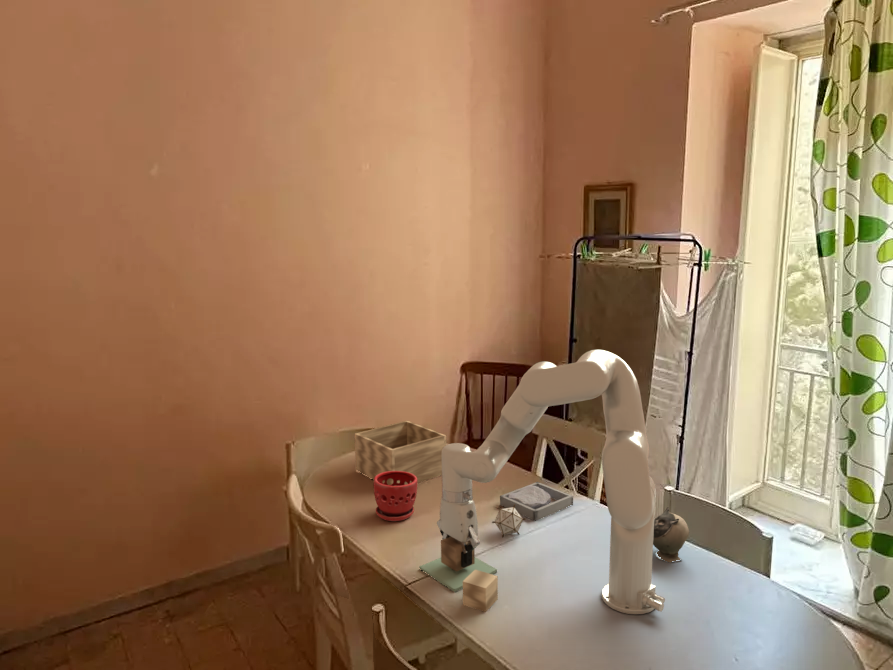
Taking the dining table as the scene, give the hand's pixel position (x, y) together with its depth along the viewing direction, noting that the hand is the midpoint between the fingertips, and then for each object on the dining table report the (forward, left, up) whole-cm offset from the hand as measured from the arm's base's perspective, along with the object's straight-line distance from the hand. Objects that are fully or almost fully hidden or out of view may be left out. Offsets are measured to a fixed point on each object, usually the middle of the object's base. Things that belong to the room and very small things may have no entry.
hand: (458, 559), depth 169 cm
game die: (+6, -24, -3) cm, 25 cm away
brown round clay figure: (-30, -47, -3) cm, 56 cm away
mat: (0, 0, -3) cm, 3 cm away
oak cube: (-14, +5, -3) cm, 15 cm away
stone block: (+16, -43, -4) cm, 46 cm away
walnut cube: (0, 0, -1) cm, 1 cm away
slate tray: (+14, -44, -3) cm, 46 cm away
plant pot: (+37, -7, -3) cm, 38 cm away
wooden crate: (+64, -28, -3) cm, 70 cm away
